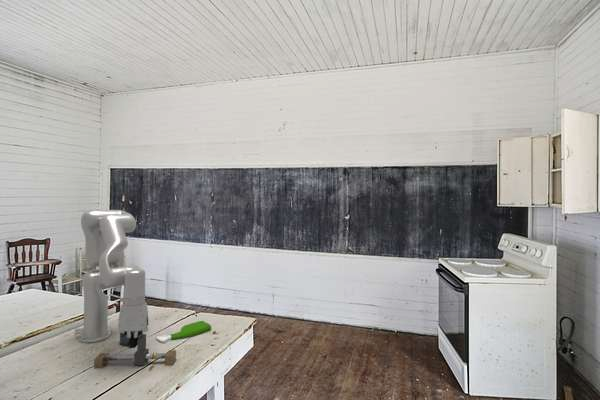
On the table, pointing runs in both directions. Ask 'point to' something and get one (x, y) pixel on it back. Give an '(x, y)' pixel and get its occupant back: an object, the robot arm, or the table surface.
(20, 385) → the table surface
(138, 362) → the collar
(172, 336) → the spray bottle
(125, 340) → the box
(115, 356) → the rod with tan block
